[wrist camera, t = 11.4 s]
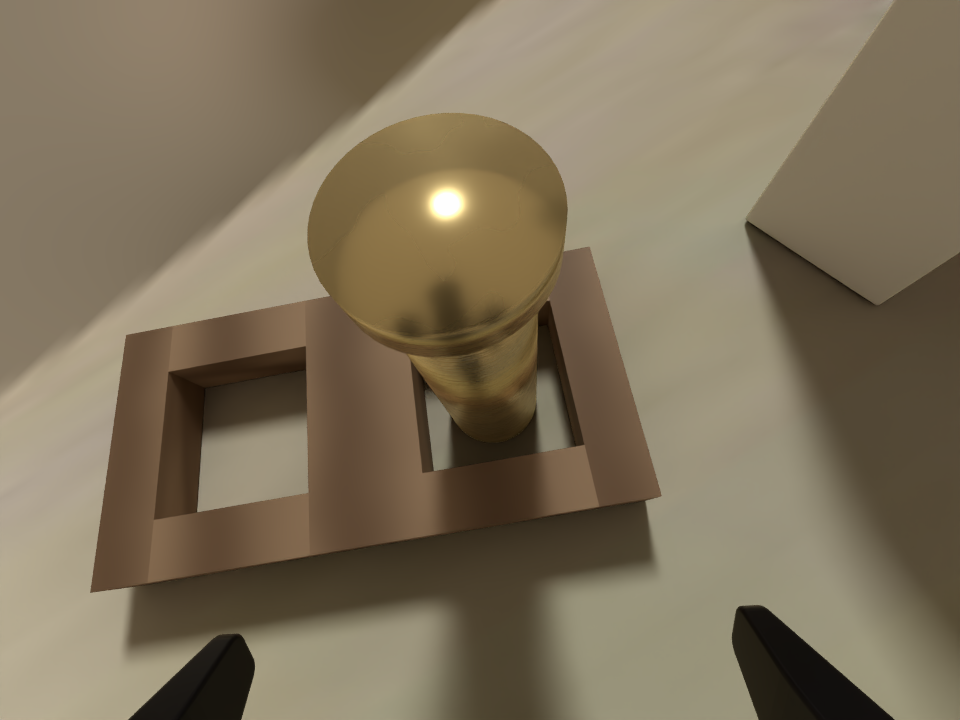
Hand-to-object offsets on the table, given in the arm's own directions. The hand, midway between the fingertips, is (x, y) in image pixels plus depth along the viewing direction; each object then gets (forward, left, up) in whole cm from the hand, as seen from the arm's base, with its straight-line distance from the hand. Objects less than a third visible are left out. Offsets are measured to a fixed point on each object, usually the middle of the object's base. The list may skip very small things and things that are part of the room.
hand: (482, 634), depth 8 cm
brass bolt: (+7, +1, -11) cm, 13 cm away
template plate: (+6, +7, -11) cm, 14 cm away
